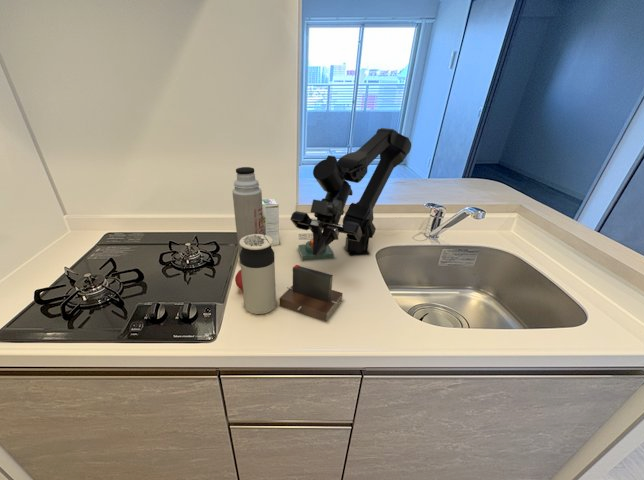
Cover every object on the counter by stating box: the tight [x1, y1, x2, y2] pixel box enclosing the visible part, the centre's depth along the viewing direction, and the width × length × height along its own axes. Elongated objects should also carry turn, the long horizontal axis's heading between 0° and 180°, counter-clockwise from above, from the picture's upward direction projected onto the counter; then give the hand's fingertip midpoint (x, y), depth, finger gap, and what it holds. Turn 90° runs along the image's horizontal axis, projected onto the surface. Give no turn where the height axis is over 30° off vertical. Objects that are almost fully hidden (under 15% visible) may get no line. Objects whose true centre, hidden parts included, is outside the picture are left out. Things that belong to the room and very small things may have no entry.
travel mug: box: [239, 234, 277, 315], centre depth 77 cm, size 8×8×18 cm
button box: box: [297, 240, 335, 261], centre depth 105 cm, size 10×8×4 cm
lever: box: [292, 264, 334, 302], centre depth 80 cm, size 10×2×7 cm, turn 60°
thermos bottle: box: [231, 166, 264, 266], centre depth 93 cm, size 8×8×28 cm
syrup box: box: [262, 198, 280, 246], centre depth 109 cm, size 6×6×14 cm
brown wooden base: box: [278, 284, 343, 322], centre depth 83 cm, size 14×14×3 cm
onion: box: [234, 269, 243, 291], centre depth 86 cm, size 6×6×8 cm
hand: (314, 255), depth 84 cm, fingers closed
